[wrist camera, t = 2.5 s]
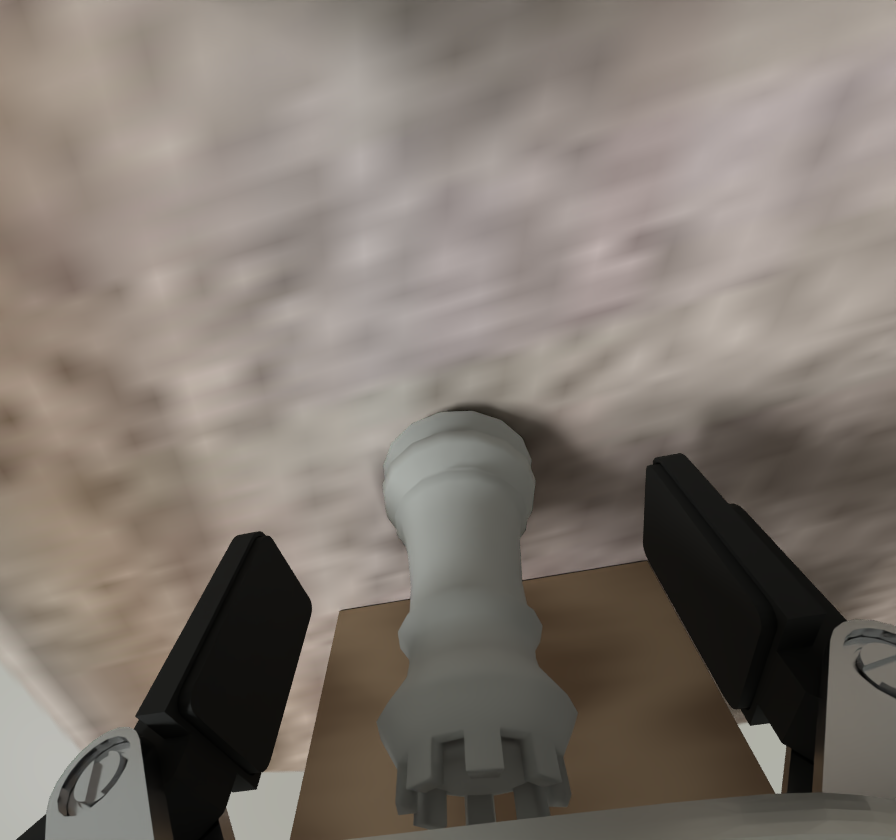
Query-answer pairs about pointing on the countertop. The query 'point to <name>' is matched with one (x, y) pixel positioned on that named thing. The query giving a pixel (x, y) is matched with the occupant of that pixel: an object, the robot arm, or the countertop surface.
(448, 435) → the rook chess piece
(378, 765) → the socket block
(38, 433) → the countertop surface
